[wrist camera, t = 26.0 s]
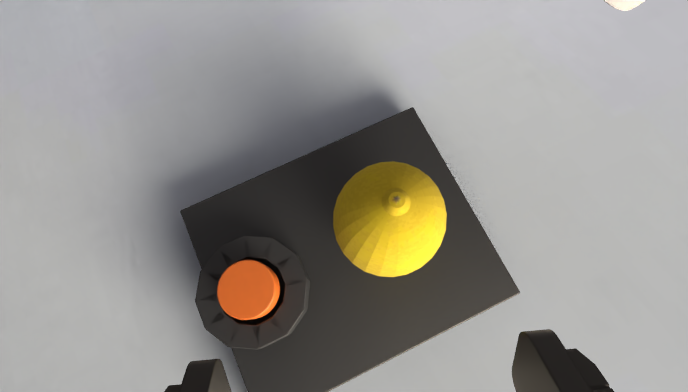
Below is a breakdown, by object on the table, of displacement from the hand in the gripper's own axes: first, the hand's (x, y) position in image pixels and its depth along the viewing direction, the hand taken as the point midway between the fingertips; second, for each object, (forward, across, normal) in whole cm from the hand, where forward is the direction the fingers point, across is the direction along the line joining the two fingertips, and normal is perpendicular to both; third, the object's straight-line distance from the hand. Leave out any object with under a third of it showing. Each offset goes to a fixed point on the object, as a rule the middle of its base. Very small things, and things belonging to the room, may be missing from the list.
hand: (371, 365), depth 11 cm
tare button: (+10, +5, +6) cm, 13 cm away
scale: (+13, 0, +7) cm, 15 cm away
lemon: (+13, -2, +5) cm, 14 cm away
